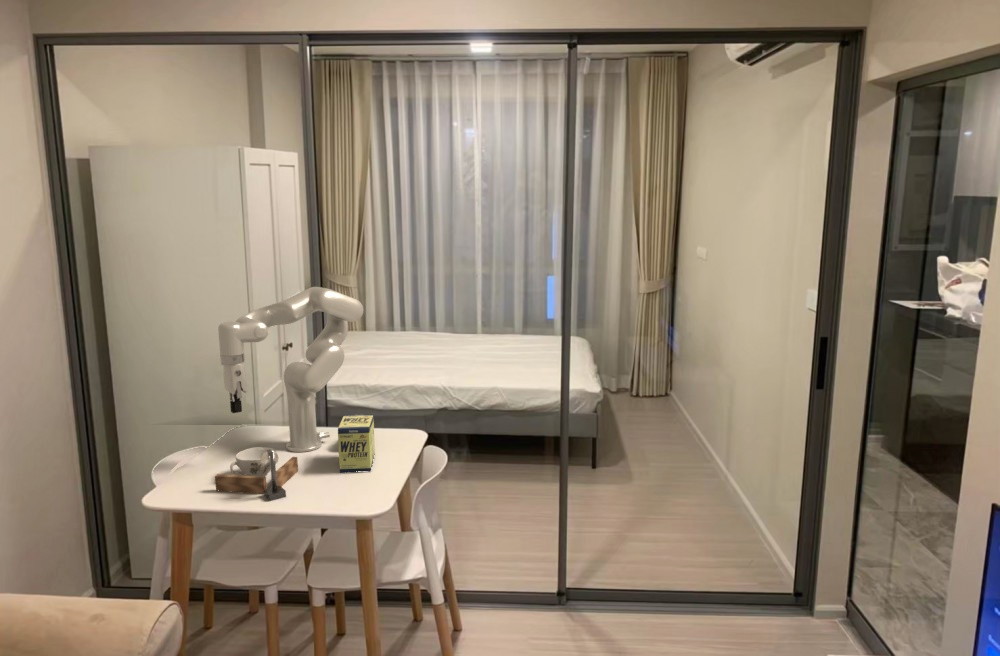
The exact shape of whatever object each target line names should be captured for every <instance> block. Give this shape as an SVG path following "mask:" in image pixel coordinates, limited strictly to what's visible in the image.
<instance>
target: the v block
mask: <svg viewBox="0 0 1000 656" xmlns="http://www.w3.org/2000/svg"><path fill="white" fill-rule="evenodd" d="M298 471H299V463H298V456H292V457H291V458H289V459H288V460H287V461H286V462H285V463H284V464H282V465H281V466H280V467H279V468H278V469H276V481H277V486H281V487H282V488H283V486H284V485H285V484H286V483H287V482H288V481H289V480H291V479H292V477H294V476H295V475H296V474H297V473H298ZM270 478H271V477H270ZM271 480H272V478H271ZM214 482H215V492H220V491H232V492H231V493H238V492H243V493H244V494H256V495H257V494H259V495H260V494H261V495H264V489H268V488H267V476H265V477H262V476H246V475H244V474H222V473H221V474H218V473H217V474H216V475H214ZM218 490H219V491H218Z"/></svg>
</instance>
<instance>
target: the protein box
mask: <svg viewBox="0 0 1000 656" xmlns="http://www.w3.org/2000/svg"><path fill="white" fill-rule="evenodd" d="M374 419H375V418H374V414H372V413H371V414H344V415H343V417H342V419H341V421H340V423H339V425H338V427H337V440H338V441H337V442H338V461H339V462H338V463H339V473H340V474H346V473H347V472H351V473H359V472H358V471H371V472H372V469H371V467H373V465H372V464H374V462H373V459H374V460H375V458H374V455H375V456H376V451H375V450H376V449H375V448H376V447H375V423H374V422H375V420H374ZM356 471H357V472H356ZM345 472H346V473H345Z"/></svg>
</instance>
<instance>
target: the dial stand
mask: <svg viewBox="0 0 1000 656" xmlns="http://www.w3.org/2000/svg"><path fill="white" fill-rule="evenodd" d="M260 462H261V464H262V465H263V466H264V467H267V468H271V470H270V474H271V475H270V478H272V479H271V487H268V488H267V489H264V494H263V496H264V497H265V498H266V499H267V500H268V501H269V502H271V501H275V500H280V499H283V498H287V493H286V492H287V491H286V490H285V489H284V488H283V486H282V487H281V486H277V481H276V471H277V469H276V465H277V464H278V462H279V455H278V453H277V451H276V452H274V451H272V450H267V451H265V452H264V453H263V454H262V455H261V458H260Z"/></svg>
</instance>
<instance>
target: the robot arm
mask: <svg viewBox="0 0 1000 656" xmlns="http://www.w3.org/2000/svg"><path fill="white" fill-rule="evenodd" d="M317 312H321V313H322V312H323V313H325V314H326V315H327V316H326V319H327V321H326V324H325V327H324V328H323V329H322V331H321V332H320V333H319V334H318V335H317V336H316V338H315V339H314V340H313V341H312V342H311V344H309V345H308V347H307V348H306V351H305V354H304V355H305V358H306V361H307V362H309V363H310V364H309V363H306V362H303V361H294V362H291V363H289V364H288V365H287V366H286V367H285V369H284V371H283V381H284V382H283V383H284V386H285V391H286V397H287V398H286V399H287V411H288V412H287V413H288V426H289V427H288V428H289V441H288V442H287V443H286V444H285V449H287V451H288V452H293V453H304V452H311V451H314V450H316V449H319V448H320V447H321V446H322V439H328V438H330V436H331V435H330V432H329V431H328V432H324V431H320V432H318V431H317V417H316V416H317V415H316V398H315V394H316V393H318V392H320V391H321V390H323V388H325V386H326V385H327V384H328V383H329V382H330V381H331V379H333V377H334V376H335V375H336V373H337V372H338V371H339V370H340V368H341V367H342V365H343V362H345V361H344V360H345V352H344V348H343V347H341V345H342V344H343V342H344V341H345V340H346V337H347V336H348V331H349V330H348V329H349V327H348V322H351V323H353V322H356V321H357V322H358V321H359V320H360V319H361V318H362V317H363V314H364V305H363V304H362V303H361V301H360V300H358V299H356V298H353V297H351V296H349V295H346V294H343V293H341V292H339V291H336V290H334V289H331V288H327V287H321V286H312V287H309V288H306V289H304V290H303V291H300V292H298V293H297V294H294V295H293V296H290V297H289V298H286V299H284V300H282V301H279V302H275V303H272V304H269V305H265V306H263V307H259V308H257V309H254V310H253V311H250V312H248V313H246V314H243V315H242V316H240V317H238V319H236V320H235V321H226V322H222V323H220V324H218V328H217V331H218V343H219V355H220V356H219V357H220V359H219V360H220V365H221V366H223V369H222V371H223V385H224V389H225V390H226V391H227V392H228V395H229V396H228V397H229V401H230V402H229V403H230V413H232V414H237V413H241V412H242V411H243V406H242V405H243V404H242V397H243V394H242V392H243V393H245V394H246V393H247V392H248V385H247V377H246V376H247V375H246V370H245V366H244V364H246V361H245V346H244V345H245V343H246V344H247V343H260V342H262V341H264V340H266V338H268V336H269V327H274V326H282V325H285V326H286V325H291V324H294V323H296V322H298V321H301V320H302V319H304V318H306V317H308V316H310V315H312V314H314V313H317Z"/></svg>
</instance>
